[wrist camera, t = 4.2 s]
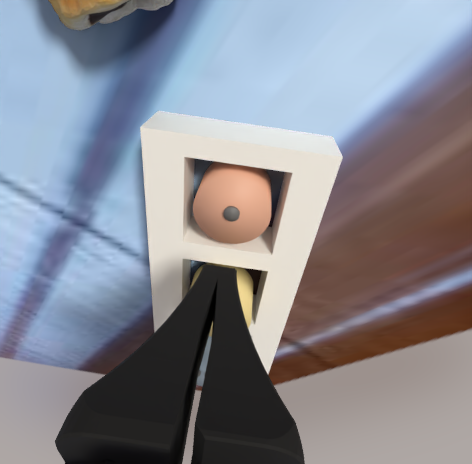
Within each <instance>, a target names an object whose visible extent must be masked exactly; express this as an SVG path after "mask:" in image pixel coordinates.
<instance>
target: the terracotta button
mask: <svg viewBox="0 0 472 464" xmlns="http://www.w3.org/2000/svg"><path fill="white" fill-rule="evenodd" d="M193 214H194V218H195V220H196V222H197V224H198V226H199V227H200V228H201V230H202V231H203V232H204V233H206V234H207V235H208V236H210V237H211V238H213V239H215V240H217V241H220V242H224V243H229V244H240V243H245V242H249V241H251V240H253V239H255V238H257V237H259V236H260V235H261V234H262V233H263V232H264V231H265V230H266V228H267V227H268V225H269V223H270V219H271V181H270V177H269V175H268V173H267V171H266V170H265V169H263V168H256V167H250V166H243V165H236V164H229V163H223V162H216V161H214V162H213V163H212V164H211V165H210V166H209V167H208V168H207V170H206V172H205V174H204V176H203V179H202V181H201V184H200V186H199V189H198V191H197V194H196V196H195V199H194V202H193Z"/></svg>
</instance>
